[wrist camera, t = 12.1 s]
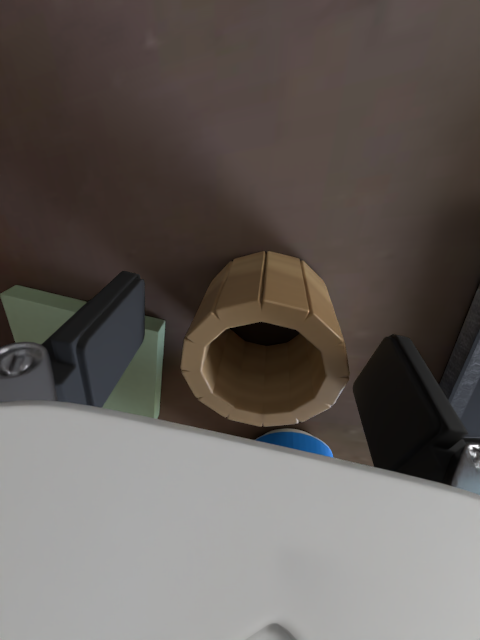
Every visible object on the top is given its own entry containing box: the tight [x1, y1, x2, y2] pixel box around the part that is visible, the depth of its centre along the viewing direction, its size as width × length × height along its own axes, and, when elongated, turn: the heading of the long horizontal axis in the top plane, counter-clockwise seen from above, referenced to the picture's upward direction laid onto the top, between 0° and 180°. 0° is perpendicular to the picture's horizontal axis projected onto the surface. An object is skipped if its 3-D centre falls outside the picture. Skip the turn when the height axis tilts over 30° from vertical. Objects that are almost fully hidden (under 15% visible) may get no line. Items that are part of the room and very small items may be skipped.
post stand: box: [0, 285, 165, 419], centre depth 16 cm, size 9×9×7 cm
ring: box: [180, 251, 350, 427], centre depth 13 cm, size 7×7×5 cm
